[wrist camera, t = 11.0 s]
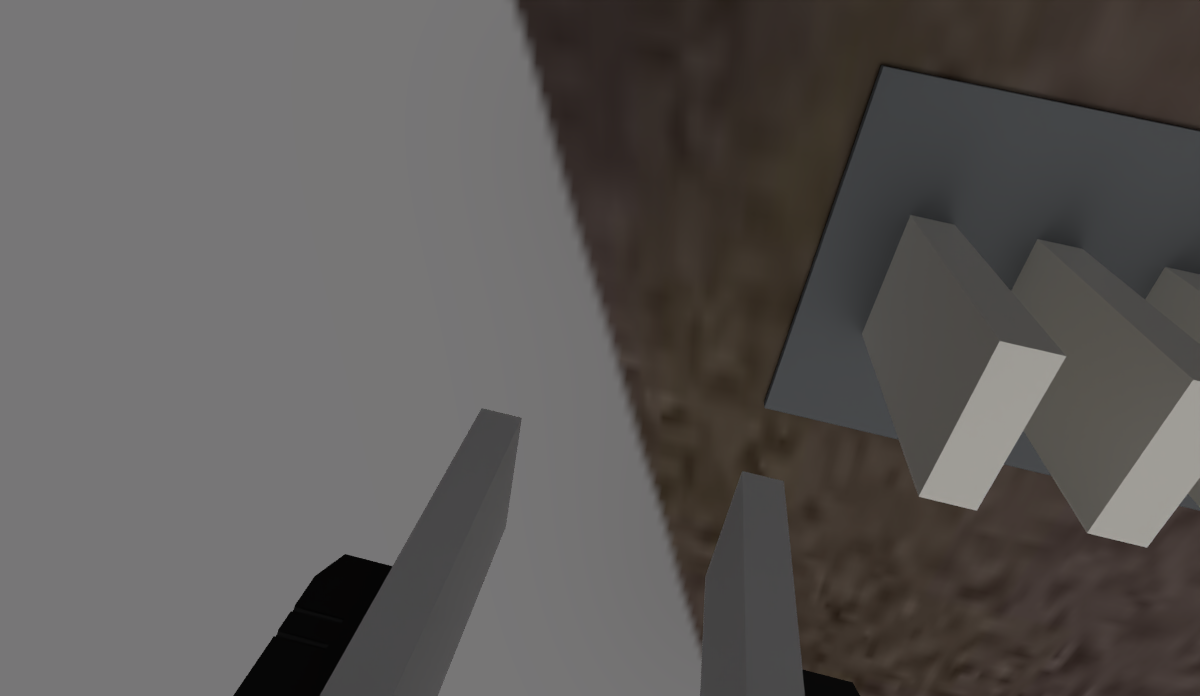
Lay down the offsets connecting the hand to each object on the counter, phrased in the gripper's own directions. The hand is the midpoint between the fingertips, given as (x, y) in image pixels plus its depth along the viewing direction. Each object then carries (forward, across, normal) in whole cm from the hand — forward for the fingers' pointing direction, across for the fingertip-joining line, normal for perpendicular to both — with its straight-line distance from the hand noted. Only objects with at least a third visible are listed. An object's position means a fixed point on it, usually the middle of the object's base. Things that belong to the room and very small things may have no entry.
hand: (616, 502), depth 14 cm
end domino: (+16, +9, 0) cm, 19 cm away
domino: (+16, +14, 0) cm, 21 cm away
